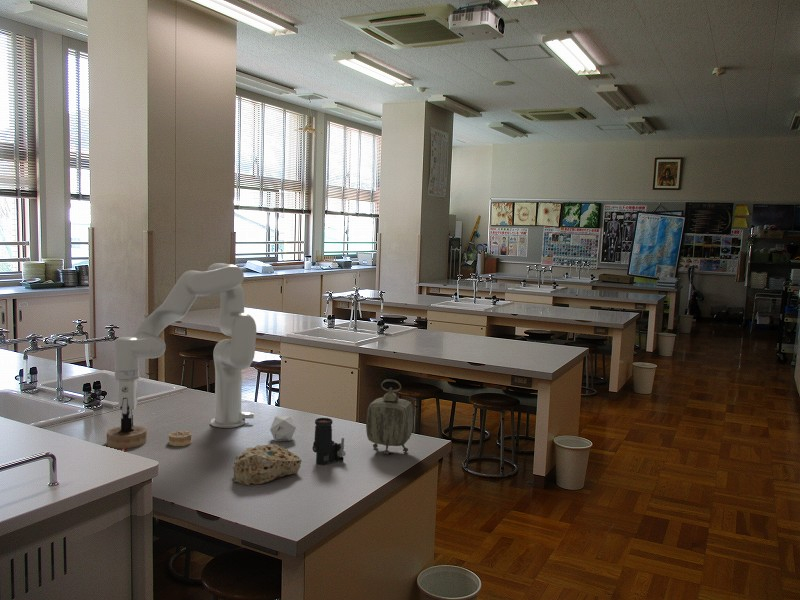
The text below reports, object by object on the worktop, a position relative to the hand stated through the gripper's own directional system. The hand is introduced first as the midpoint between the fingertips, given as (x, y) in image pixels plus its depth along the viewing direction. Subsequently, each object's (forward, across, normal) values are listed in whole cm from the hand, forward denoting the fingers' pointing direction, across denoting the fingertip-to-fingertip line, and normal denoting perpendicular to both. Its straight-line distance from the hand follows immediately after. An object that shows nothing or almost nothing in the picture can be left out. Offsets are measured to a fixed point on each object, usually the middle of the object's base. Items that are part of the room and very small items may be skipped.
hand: (127, 427), depth 215 cm
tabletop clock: (+5, -24, -84) cm, 87 cm away
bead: (+5, 0, 0) cm, 5 cm away
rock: (+5, -37, -43) cm, 57 cm away
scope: (+5, -29, -62) cm, 69 cm away
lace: (+5, -10, 0) cm, 12 cm away
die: (+5, -5, -51) cm, 51 cm away
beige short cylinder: (+5, -3, -17) cm, 18 cm away
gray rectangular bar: (+3, 0, 0) cm, 3 cm away
